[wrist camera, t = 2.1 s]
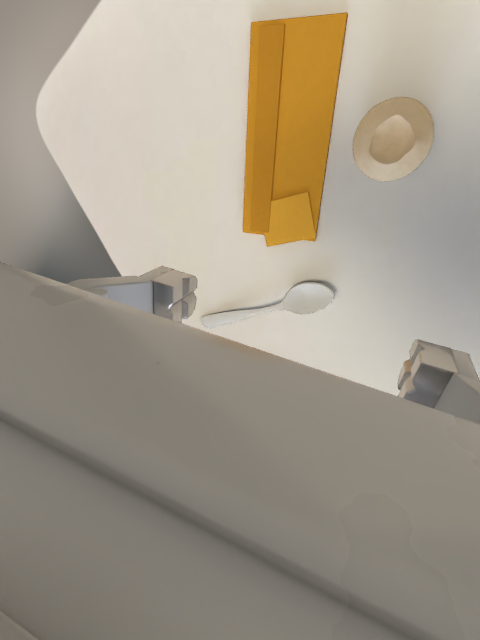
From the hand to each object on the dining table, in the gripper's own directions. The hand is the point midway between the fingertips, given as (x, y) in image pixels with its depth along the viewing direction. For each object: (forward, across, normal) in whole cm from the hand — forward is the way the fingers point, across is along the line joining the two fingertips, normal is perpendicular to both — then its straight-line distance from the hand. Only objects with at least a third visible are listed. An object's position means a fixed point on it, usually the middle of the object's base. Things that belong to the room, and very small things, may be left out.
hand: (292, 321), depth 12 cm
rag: (+28, +9, -6) cm, 30 cm away
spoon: (+28, +9, +14) cm, 33 cm away
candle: (+28, -1, -7) cm, 29 cm away
